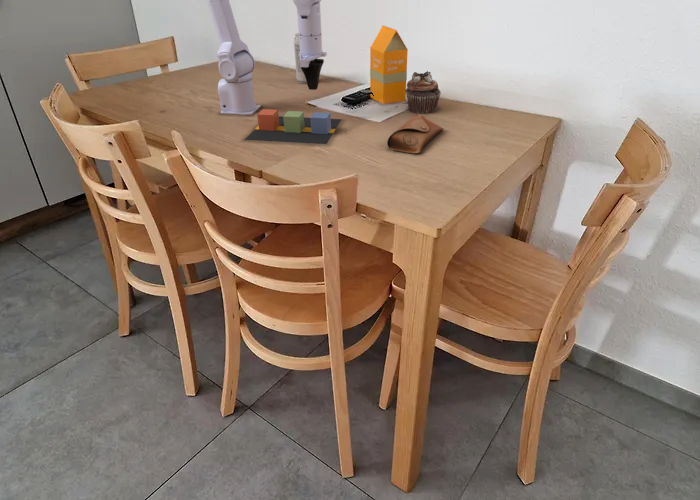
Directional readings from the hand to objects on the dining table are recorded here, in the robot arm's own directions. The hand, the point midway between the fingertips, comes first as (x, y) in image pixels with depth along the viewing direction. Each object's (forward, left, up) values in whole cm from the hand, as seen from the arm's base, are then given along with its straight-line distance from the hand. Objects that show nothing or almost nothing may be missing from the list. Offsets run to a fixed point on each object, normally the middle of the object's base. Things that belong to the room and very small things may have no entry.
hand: (313, 88), depth 131 cm
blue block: (+4, -10, -8) cm, 14 cm away
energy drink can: (-12, +36, -8) cm, 39 cm away
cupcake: (+29, +12, -8) cm, 32 cm away
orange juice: (+18, +20, -8) cm, 28 cm away
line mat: (-3, -10, -8) cm, 13 cm away
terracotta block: (-10, -10, -8) cm, 16 cm away
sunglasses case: (+29, -12, -8) cm, 32 cm away
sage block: (-3, -10, -8) cm, 13 cm away
